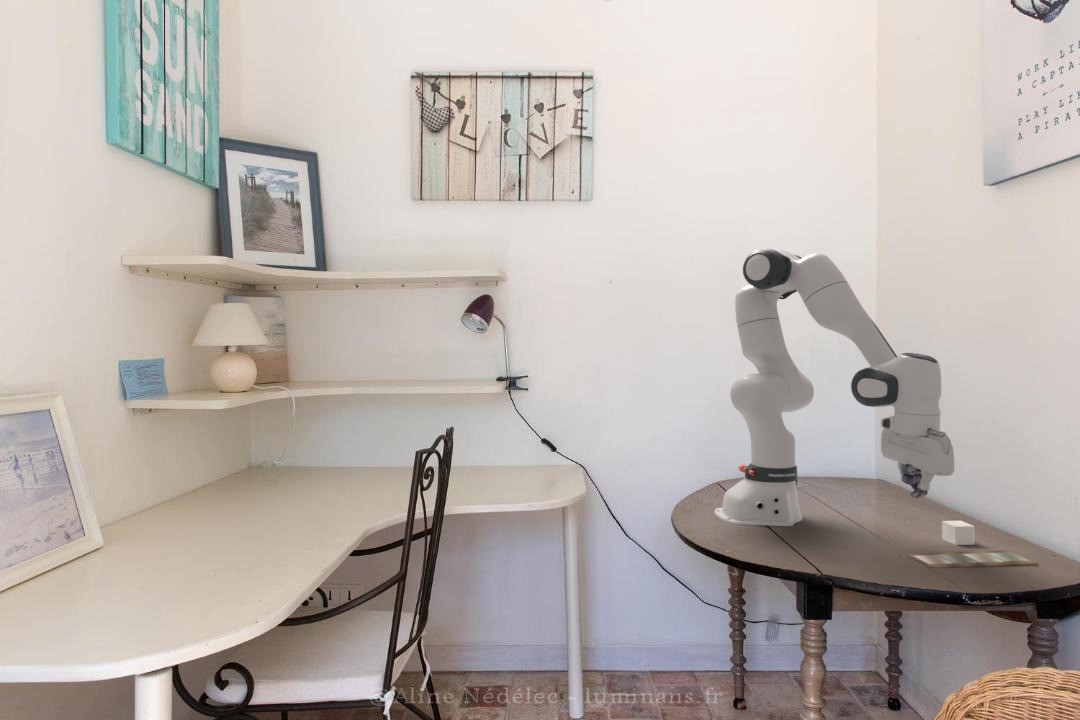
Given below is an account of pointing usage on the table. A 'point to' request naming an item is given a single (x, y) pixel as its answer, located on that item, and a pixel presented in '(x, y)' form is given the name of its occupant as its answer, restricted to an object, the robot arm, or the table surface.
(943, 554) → the brown rectangular frame
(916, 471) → the seashell
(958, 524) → the cream white cube
